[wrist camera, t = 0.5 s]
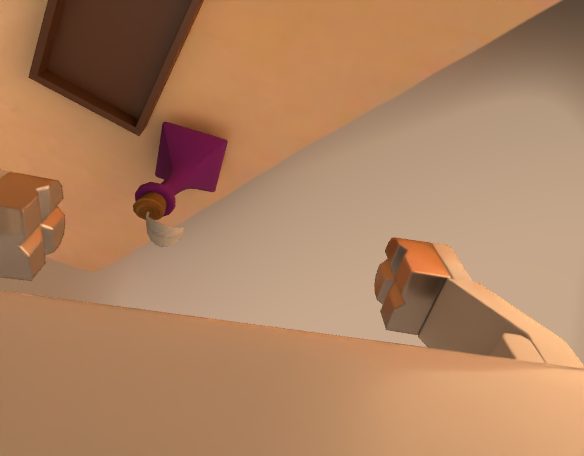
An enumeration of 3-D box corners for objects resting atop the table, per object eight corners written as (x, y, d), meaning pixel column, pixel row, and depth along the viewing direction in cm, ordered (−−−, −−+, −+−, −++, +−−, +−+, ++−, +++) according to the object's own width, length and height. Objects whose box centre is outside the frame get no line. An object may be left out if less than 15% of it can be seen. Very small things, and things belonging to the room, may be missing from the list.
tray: (86, -107, 38) (75, -107, 36) (212, -20, 42) (208, -16, 40) (39, 70, 48) (28, 77, 46) (145, 127, 52) (139, 136, 50)
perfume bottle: (161, 163, 55) (112, 254, 41) (170, 110, 51) (117, 191, 36) (218, 179, 56) (189, 273, 42) (231, 128, 52) (204, 215, 38)
